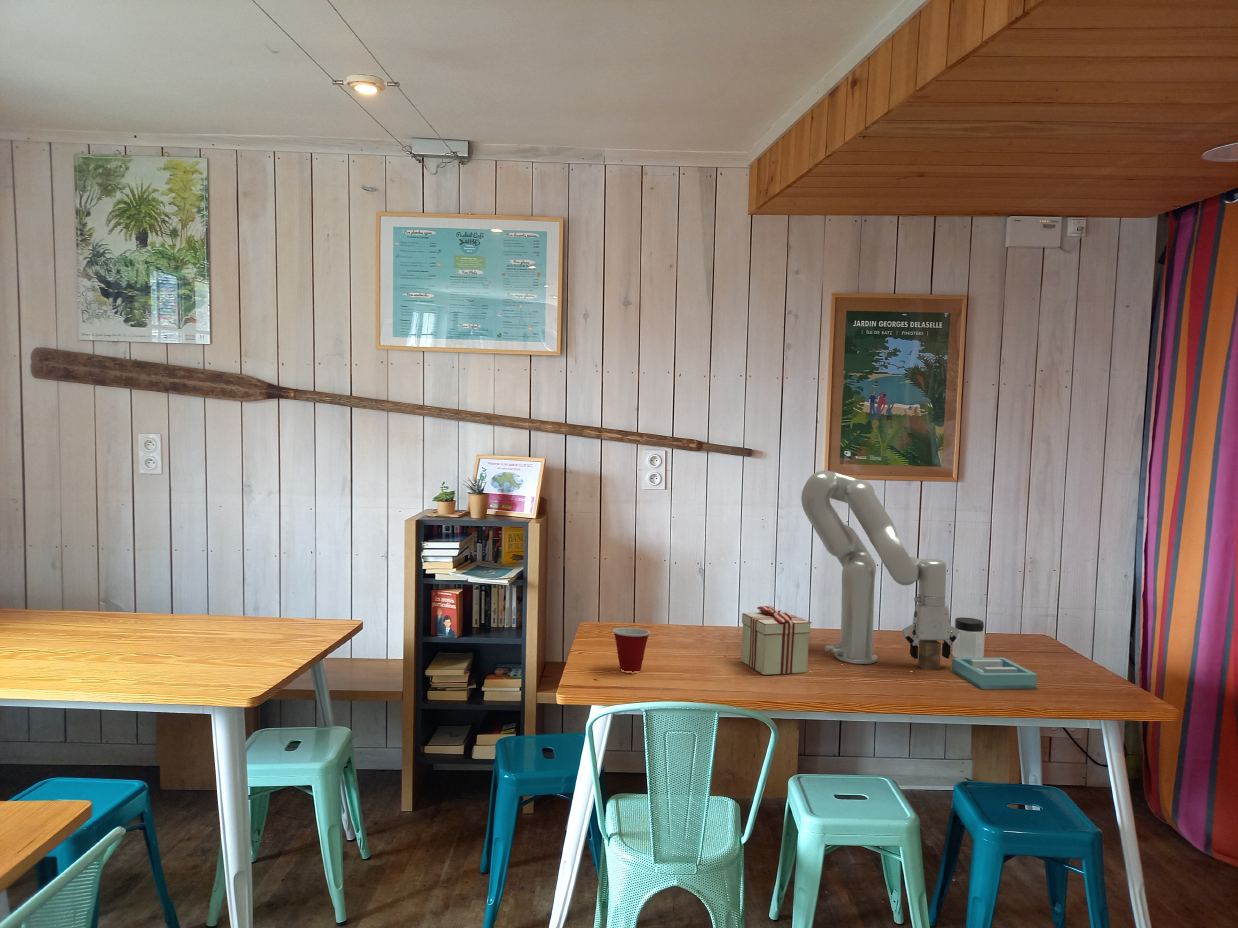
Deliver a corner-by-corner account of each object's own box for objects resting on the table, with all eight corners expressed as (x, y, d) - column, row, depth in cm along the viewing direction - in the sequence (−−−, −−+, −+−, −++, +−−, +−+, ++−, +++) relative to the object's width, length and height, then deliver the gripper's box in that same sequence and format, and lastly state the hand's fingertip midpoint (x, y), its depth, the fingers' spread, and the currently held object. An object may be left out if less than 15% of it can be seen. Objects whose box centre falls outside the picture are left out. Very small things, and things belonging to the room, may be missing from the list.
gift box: (819, 671, 229) (821, 612, 228) (766, 677, 222) (768, 617, 221) (786, 655, 245) (787, 600, 244) (734, 661, 238) (736, 604, 237)
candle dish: (980, 689, 215) (981, 672, 215) (951, 671, 231) (952, 656, 231) (1036, 688, 217) (1037, 672, 216) (1003, 670, 233) (1004, 655, 232)
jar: (971, 663, 239) (973, 624, 239) (947, 656, 246) (949, 619, 246) (988, 659, 244) (990, 621, 244) (964, 652, 251) (965, 615, 250)
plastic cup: (655, 668, 228) (656, 627, 228) (640, 678, 219) (641, 636, 218) (621, 663, 233) (622, 623, 232) (605, 673, 223) (606, 631, 223)
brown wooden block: (925, 669, 232) (926, 642, 232) (918, 665, 237) (919, 638, 237) (939, 669, 233) (940, 642, 232) (932, 664, 237) (933, 638, 237)
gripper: (909, 603, 230) (907, 661, 230) (965, 603, 231) (964, 660, 232) (898, 598, 237) (896, 654, 238) (953, 598, 238) (951, 653, 239)
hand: (929, 657), depth 235 cm, fingers open, 9 cm apart
